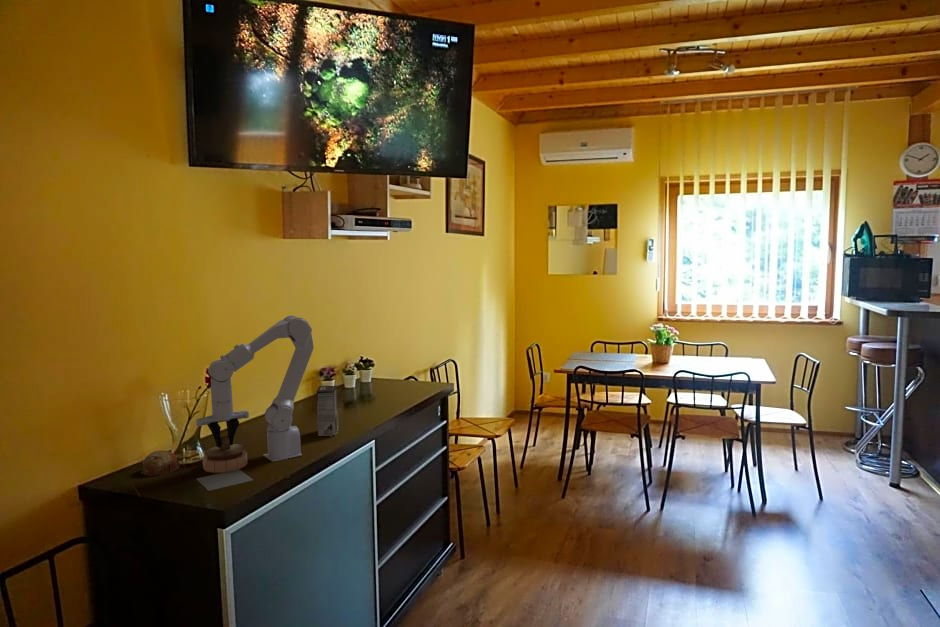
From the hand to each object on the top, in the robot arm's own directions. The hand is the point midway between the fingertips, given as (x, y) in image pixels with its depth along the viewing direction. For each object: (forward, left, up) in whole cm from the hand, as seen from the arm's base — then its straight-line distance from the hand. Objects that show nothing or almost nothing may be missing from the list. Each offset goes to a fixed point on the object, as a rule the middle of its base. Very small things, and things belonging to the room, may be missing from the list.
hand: (224, 445), depth 187 cm
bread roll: (+16, -9, -7) cm, 19 cm away
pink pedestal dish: (0, 0, -2) cm, 2 cm away
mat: (+4, +12, -6) cm, 14 cm away
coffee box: (-39, -12, -7) cm, 41 cm away
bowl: (0, 0, -6) cm, 6 cm away
